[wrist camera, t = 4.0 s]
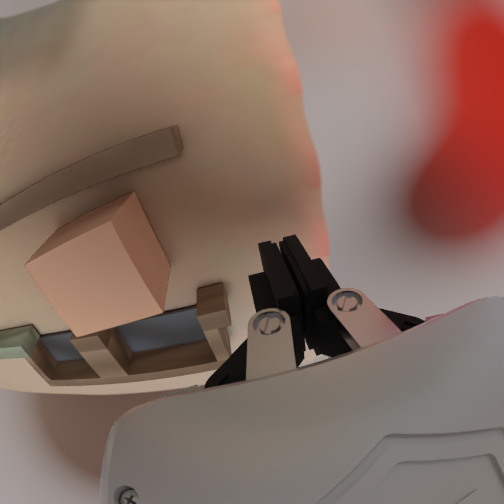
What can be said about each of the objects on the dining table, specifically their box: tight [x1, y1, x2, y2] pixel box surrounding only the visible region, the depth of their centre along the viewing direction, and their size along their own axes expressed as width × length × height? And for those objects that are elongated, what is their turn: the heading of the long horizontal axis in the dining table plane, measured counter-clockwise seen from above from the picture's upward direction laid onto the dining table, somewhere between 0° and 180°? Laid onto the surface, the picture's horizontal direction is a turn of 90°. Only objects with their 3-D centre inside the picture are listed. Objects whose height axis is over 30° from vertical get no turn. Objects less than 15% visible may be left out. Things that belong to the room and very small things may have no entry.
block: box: [25, 191, 171, 337], centre depth 16 cm, size 6×7×5 cm
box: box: [0, 125, 232, 386], centre depth 17 cm, size 18×30×3 cm, turn 102°
